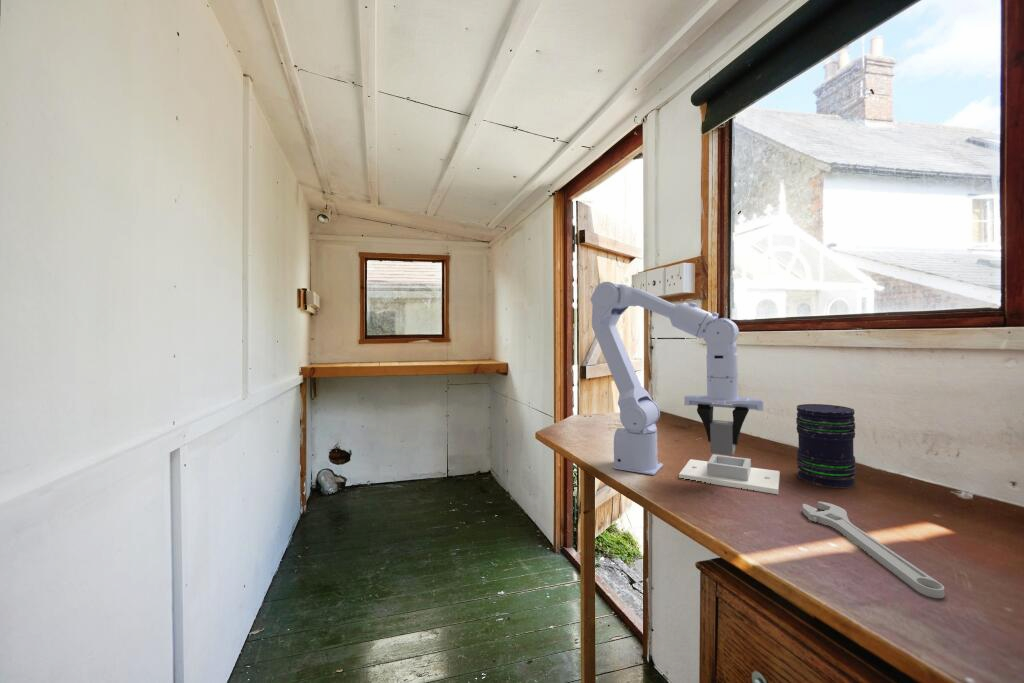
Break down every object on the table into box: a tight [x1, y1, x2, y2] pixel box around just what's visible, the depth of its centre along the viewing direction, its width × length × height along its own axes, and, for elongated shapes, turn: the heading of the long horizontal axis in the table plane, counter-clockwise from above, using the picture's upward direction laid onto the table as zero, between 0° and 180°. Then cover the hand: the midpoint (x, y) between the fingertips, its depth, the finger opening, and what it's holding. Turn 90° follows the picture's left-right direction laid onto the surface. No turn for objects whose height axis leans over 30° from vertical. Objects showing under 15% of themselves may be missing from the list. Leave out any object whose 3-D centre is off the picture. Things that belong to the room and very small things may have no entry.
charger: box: [710, 419, 736, 456], centre depth 87 cm, size 4×4×6 cm
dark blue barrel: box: [795, 403, 857, 489], centre depth 88 cm, size 10×10×15 cm
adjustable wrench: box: [802, 501, 945, 599], centre depth 62 cm, size 25×6×2 cm, turn 168°
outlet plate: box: [678, 453, 781, 495], centre depth 90 cm, size 18×12×4 cm, turn 56°
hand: (723, 442), depth 87 cm, fingers closed on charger, 4 cm apart
